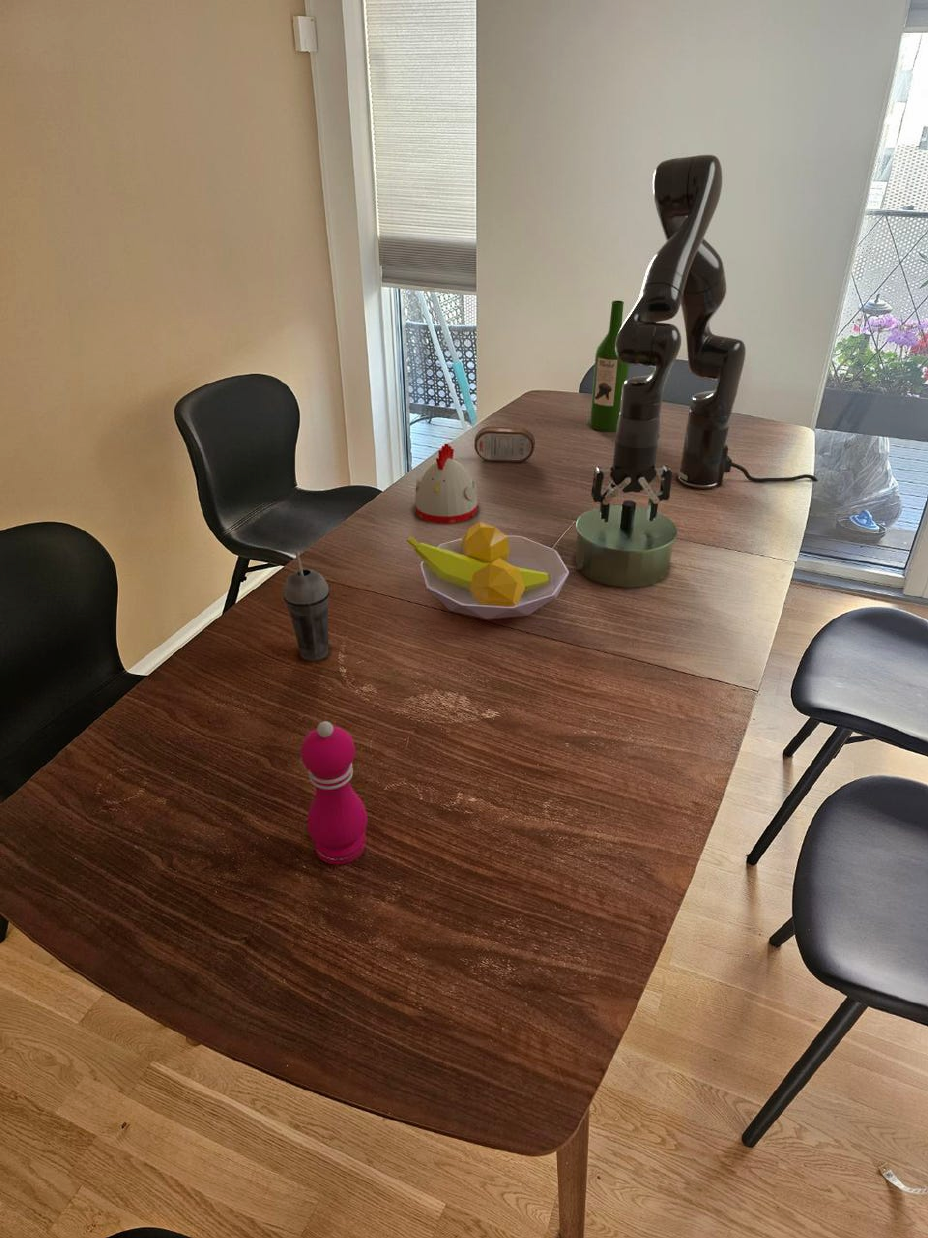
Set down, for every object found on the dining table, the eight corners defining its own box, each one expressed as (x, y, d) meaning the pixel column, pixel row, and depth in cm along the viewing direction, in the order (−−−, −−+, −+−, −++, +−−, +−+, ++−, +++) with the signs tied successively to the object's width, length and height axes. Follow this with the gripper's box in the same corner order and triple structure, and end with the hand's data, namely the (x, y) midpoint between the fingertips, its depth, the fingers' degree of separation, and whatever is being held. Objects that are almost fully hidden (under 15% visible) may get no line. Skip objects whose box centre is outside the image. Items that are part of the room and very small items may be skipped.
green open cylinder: (656, 541, 166) (661, 508, 161) (679, 586, 151) (685, 551, 146) (569, 543, 165) (572, 510, 161) (583, 588, 150) (586, 553, 146)
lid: (662, 509, 162) (666, 481, 159) (688, 555, 146) (693, 525, 143) (569, 511, 162) (571, 483, 158) (584, 558, 146) (587, 527, 142)
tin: (534, 459, 202) (535, 426, 197) (533, 464, 199) (535, 431, 195) (474, 457, 203) (474, 424, 199) (473, 461, 201) (473, 429, 196)
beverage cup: (344, 644, 136) (332, 539, 124) (324, 669, 130) (310, 561, 119) (305, 636, 138) (290, 532, 126) (284, 660, 132) (266, 554, 121)
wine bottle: (585, 428, 219) (596, 303, 201) (594, 418, 226) (604, 296, 208) (618, 433, 216) (631, 306, 198) (625, 422, 223) (639, 299, 205)
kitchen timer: (405, 517, 175) (401, 452, 167) (429, 492, 186) (427, 429, 177) (465, 527, 171) (464, 461, 163) (485, 501, 182) (486, 437, 173)
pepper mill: (313, 825, 103) (294, 704, 91) (370, 821, 103) (358, 700, 92) (309, 871, 97) (288, 747, 85) (369, 866, 97) (356, 743, 86)
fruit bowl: (583, 576, 154) (587, 523, 148) (532, 651, 134) (535, 594, 127) (451, 547, 164) (450, 496, 158) (385, 613, 143) (382, 558, 137)
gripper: (671, 429, 147) (659, 510, 156) (593, 431, 146) (586, 511, 155) (681, 445, 140) (669, 528, 150) (601, 446, 140) (593, 529, 149)
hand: (627, 519), depth 152 cm, fingers open, 8 cm apart
